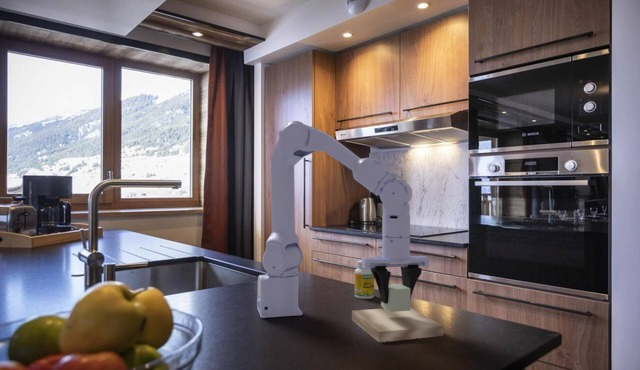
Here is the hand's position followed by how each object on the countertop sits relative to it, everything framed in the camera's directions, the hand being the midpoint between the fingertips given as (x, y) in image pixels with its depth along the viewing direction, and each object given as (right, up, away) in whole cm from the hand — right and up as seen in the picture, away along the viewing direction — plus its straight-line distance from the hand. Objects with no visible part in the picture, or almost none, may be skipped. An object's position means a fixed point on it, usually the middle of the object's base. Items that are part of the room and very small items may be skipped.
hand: (395, 301), depth 87 cm
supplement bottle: (-4, -6, +25) cm, 26 cm away
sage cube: (0, -1, 0) cm, 1 cm away
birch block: (0, -6, 0) cm, 6 cm away
